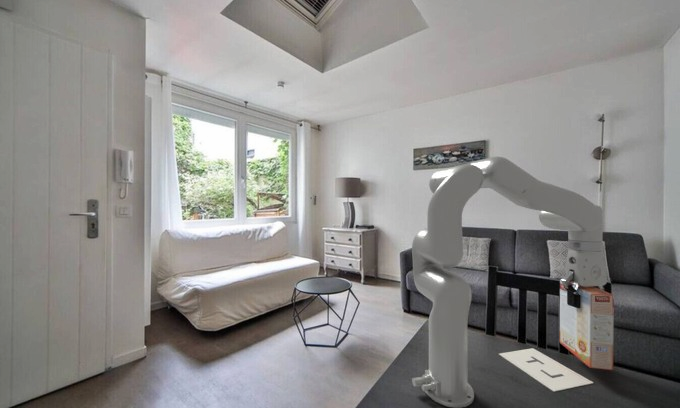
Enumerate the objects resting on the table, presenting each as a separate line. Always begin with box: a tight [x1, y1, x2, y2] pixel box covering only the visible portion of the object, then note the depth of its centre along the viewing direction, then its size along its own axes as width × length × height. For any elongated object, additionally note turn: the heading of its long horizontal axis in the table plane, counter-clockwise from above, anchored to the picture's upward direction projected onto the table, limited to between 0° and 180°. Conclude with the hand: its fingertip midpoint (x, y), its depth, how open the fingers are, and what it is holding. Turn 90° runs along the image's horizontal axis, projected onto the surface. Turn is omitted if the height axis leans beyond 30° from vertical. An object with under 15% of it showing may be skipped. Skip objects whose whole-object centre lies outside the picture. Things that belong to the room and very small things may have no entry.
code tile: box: [498, 347, 594, 392], centre depth 81 cm, size 14×18×1 cm
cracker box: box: [559, 279, 615, 371], centre depth 80 cm, size 14×6×21 cm, turn 169°
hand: (584, 304), depth 80 cm, fingers closed on cracker box, 8 cm apart
